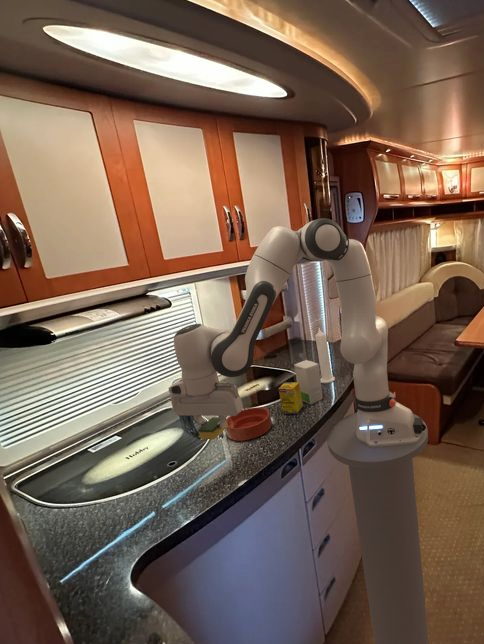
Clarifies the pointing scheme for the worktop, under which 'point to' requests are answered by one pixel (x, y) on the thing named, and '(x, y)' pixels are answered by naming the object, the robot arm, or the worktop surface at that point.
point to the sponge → (211, 429)
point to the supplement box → (291, 398)
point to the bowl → (248, 424)
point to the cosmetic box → (309, 381)
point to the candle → (323, 357)
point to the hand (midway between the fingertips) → (213, 427)
